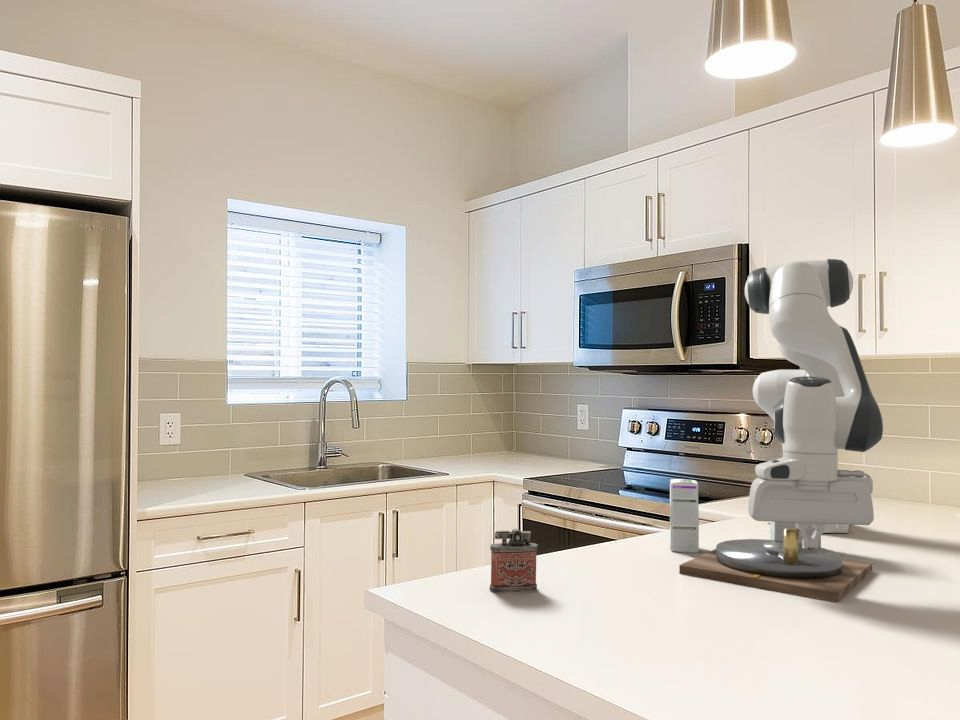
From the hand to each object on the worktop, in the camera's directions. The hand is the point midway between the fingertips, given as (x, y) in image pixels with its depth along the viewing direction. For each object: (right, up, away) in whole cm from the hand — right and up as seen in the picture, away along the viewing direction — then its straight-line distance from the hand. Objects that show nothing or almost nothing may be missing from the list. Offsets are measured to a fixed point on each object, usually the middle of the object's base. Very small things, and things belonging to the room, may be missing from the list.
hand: (809, 548), depth 131 cm
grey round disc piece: (-2, -5, +10) cm, 11 cm away
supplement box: (+10, -8, +29) cm, 32 cm away
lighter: (-52, -6, -5) cm, 52 cm away
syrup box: (-14, -7, +28) cm, 32 cm away
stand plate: (-2, -7, +10) cm, 12 cm away
